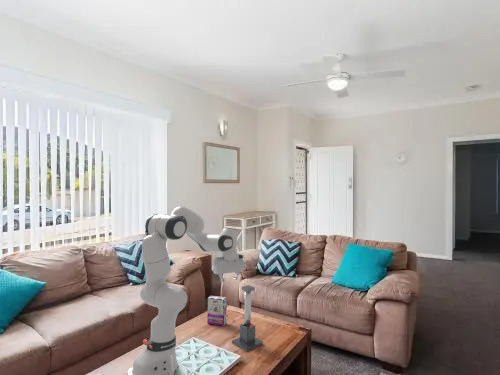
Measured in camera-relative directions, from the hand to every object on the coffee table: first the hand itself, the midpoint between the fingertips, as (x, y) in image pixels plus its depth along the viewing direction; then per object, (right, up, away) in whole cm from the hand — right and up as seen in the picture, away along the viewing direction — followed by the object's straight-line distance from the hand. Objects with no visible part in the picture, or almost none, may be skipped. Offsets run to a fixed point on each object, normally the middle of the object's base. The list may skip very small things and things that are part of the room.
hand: (229, 280), depth 187 cm
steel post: (+11, -24, -10) cm, 28 cm away
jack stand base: (+11, -32, -10) cm, 35 cm away
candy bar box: (-9, -32, +16) cm, 36 cm away
